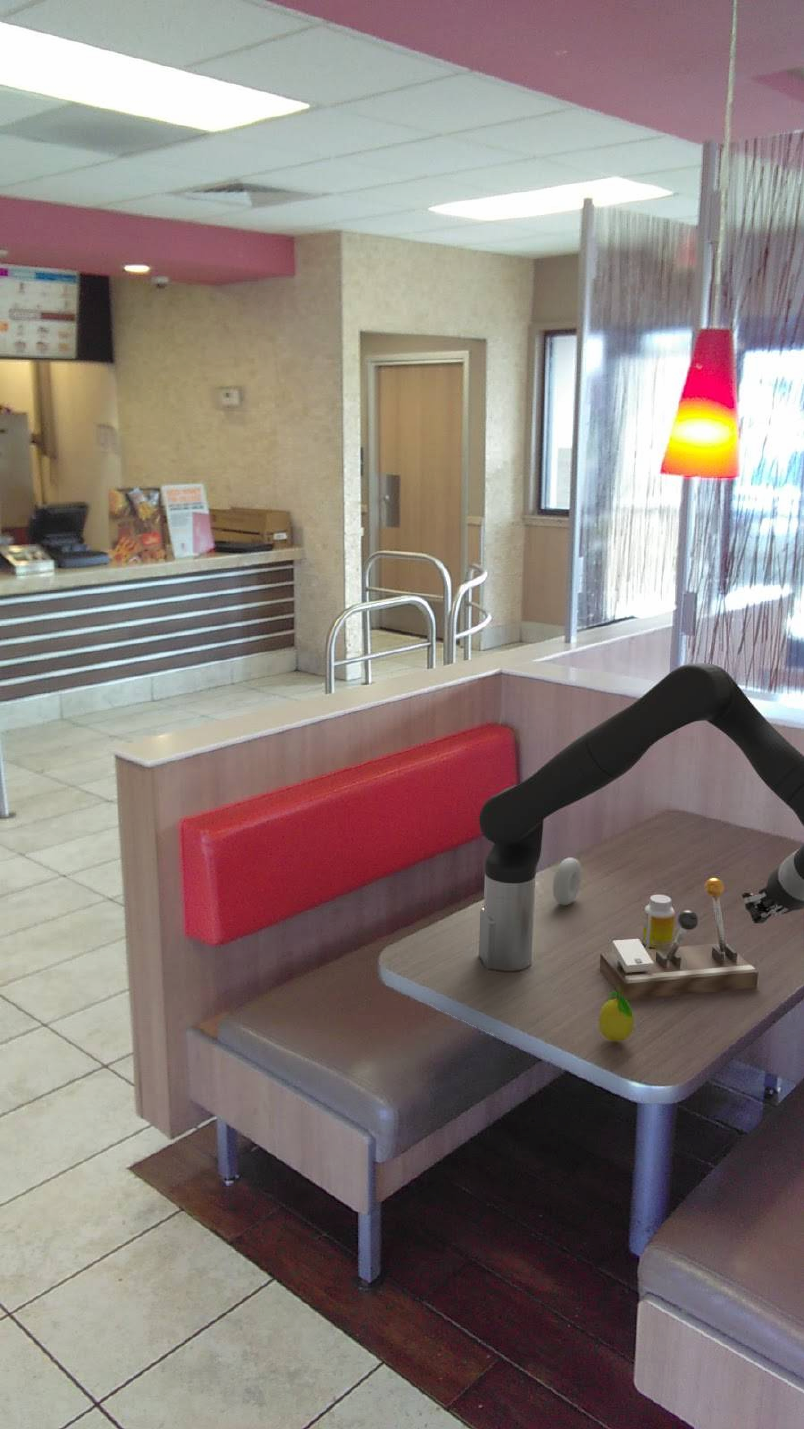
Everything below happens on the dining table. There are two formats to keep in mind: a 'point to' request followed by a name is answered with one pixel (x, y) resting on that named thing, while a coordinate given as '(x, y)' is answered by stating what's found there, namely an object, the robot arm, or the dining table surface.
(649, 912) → the supplement bottle
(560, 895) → the donut
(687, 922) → the lever black
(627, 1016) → the lemon
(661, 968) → the panel
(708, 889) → the lever orange
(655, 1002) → the dining table surface
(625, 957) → the block
